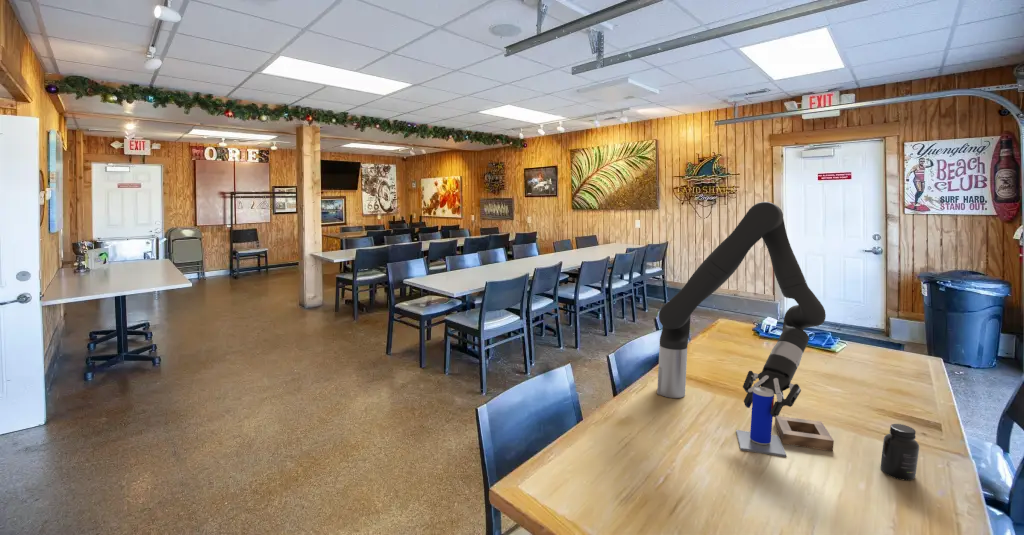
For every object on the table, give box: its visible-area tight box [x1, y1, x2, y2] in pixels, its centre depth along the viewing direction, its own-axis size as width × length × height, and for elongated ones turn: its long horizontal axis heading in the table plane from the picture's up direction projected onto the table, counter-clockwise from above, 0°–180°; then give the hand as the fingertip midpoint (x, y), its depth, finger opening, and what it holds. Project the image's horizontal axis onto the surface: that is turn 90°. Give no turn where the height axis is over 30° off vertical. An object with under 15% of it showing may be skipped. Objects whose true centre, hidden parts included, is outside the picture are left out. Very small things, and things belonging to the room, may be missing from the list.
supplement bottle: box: [880, 423, 920, 481], centre depth 117 cm, size 7×7×12 cm
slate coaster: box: [735, 429, 787, 458], centre depth 133 cm, size 11×11×1 cm
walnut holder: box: [774, 415, 835, 452], centre depth 136 cm, size 12×12×3 cm
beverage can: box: [749, 386, 775, 445], centre depth 132 cm, size 5×5×15 cm
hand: (759, 410), depth 130 cm, fingers open, 6 cm apart
